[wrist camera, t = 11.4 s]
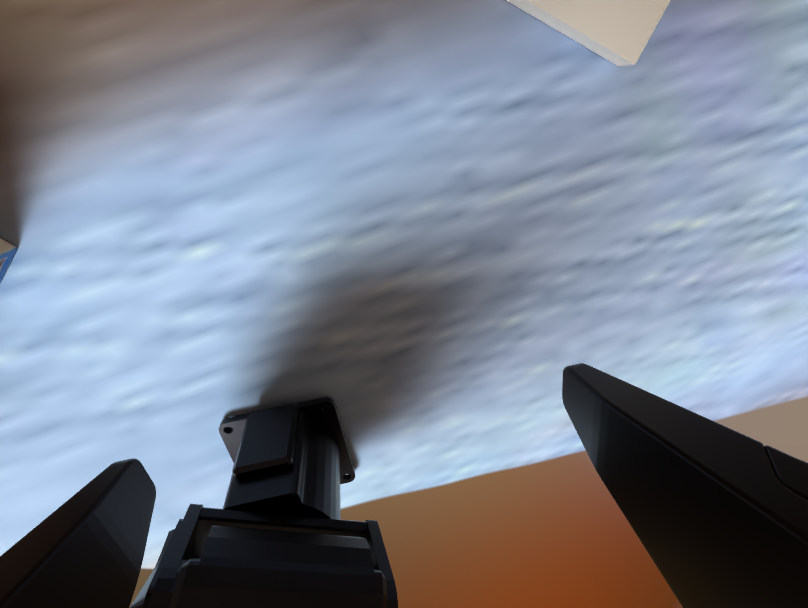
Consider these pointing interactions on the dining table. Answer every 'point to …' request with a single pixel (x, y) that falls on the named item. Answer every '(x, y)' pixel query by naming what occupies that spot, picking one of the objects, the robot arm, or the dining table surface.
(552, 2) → the board
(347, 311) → the dining table surface
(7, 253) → the patterned box
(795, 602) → the robot arm
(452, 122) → the dining table surface
